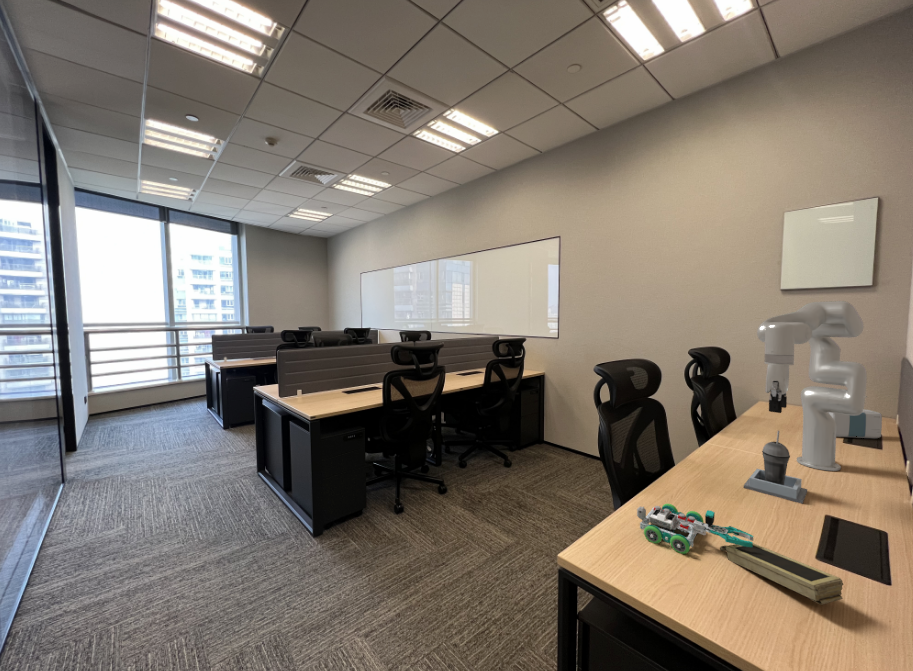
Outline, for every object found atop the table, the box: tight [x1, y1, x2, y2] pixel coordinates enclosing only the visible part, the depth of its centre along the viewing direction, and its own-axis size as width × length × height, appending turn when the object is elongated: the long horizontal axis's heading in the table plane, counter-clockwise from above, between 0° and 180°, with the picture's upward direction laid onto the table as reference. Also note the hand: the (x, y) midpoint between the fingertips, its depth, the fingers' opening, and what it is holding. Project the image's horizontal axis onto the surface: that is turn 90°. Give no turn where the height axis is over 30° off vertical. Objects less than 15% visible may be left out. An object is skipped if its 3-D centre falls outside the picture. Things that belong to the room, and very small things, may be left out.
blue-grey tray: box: [743, 468, 808, 505], centre depth 126 cm, size 12×15×4 cm
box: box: [719, 542, 844, 606], centre depth 83 cm, size 8×22×5 cm, turn 16°
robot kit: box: [636, 503, 754, 555], centre depth 98 cm, size 19×25×9 cm
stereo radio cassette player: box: [828, 395, 883, 440], centre depth 183 cm, size 21×8×20 cm, turn 80°
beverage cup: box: [761, 429, 791, 485], centre depth 126 cm, size 7×7×20 cm
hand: (777, 409), depth 125 cm, fingers open, 9 cm apart
